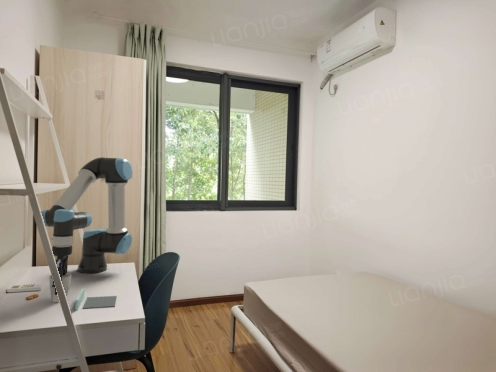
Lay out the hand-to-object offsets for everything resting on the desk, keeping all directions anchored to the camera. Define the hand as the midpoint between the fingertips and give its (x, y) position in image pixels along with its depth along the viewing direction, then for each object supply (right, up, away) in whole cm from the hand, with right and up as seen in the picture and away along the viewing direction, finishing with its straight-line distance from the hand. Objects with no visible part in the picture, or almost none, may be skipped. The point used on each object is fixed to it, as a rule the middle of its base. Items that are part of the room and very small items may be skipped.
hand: (59, 298), depth 137 cm
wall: (+11, -1, -4) cm, 11 cm away
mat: (+18, -1, -1) cm, 18 cm away
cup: (0, 0, 0) cm, 0 cm away
